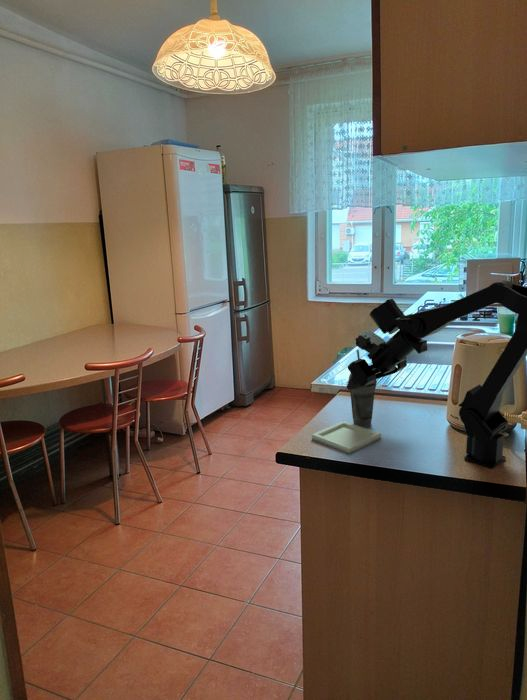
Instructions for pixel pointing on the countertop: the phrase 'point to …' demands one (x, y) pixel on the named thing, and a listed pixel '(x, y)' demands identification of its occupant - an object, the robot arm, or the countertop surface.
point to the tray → (346, 436)
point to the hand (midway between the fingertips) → (358, 383)
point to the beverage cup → (362, 403)
